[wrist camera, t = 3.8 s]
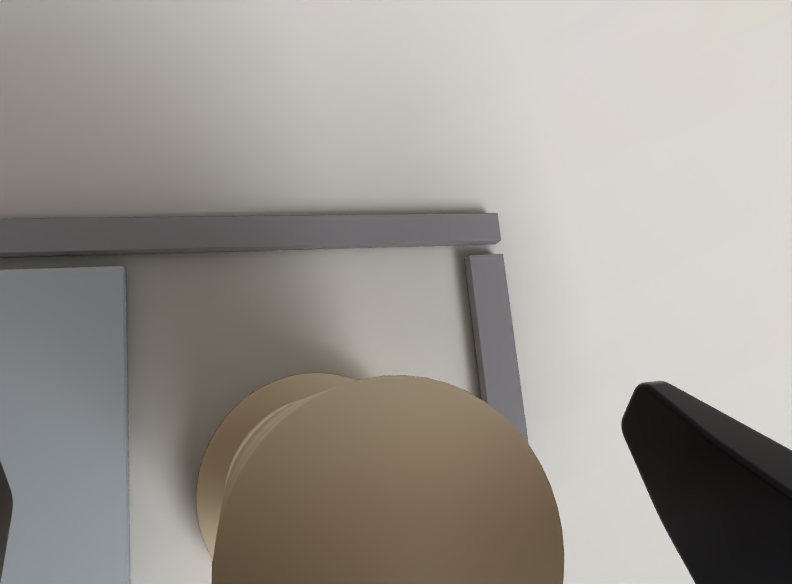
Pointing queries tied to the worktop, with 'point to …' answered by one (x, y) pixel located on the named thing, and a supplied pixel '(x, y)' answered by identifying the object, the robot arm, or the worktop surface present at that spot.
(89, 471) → the game track
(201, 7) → the worktop surface
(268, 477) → the birch pawn
